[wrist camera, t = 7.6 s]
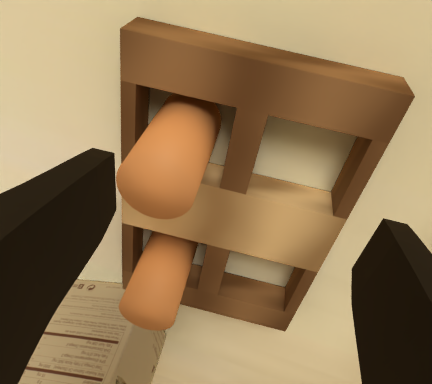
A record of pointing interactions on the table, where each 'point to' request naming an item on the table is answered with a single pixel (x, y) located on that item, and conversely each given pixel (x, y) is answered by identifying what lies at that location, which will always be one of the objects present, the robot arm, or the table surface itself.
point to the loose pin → (170, 158)
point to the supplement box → (94, 341)
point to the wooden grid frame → (254, 159)
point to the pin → (158, 282)
